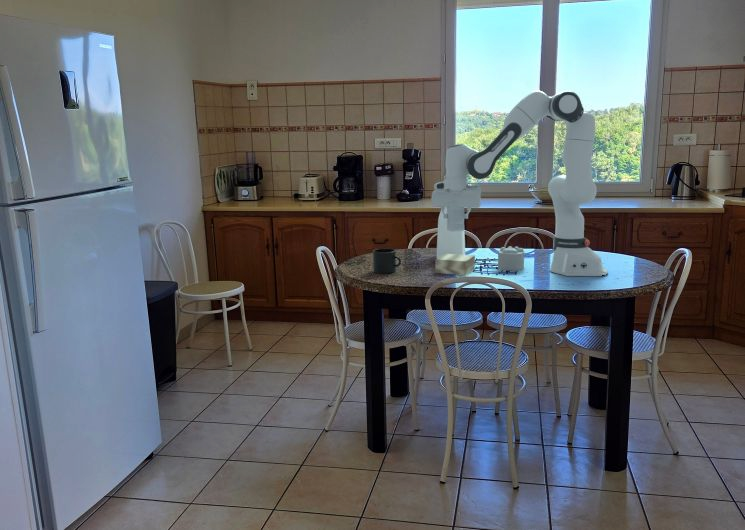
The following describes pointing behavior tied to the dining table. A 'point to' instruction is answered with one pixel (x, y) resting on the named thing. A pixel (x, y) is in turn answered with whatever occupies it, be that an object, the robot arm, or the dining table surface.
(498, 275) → the dining table surface
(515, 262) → the lumpy-topped squat cylinder
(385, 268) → the mug
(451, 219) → the skincare box
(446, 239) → the milk
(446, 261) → the birch block
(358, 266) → the dining table surface
